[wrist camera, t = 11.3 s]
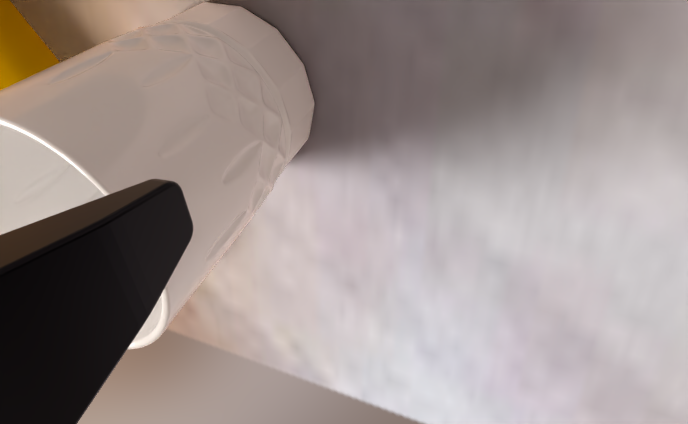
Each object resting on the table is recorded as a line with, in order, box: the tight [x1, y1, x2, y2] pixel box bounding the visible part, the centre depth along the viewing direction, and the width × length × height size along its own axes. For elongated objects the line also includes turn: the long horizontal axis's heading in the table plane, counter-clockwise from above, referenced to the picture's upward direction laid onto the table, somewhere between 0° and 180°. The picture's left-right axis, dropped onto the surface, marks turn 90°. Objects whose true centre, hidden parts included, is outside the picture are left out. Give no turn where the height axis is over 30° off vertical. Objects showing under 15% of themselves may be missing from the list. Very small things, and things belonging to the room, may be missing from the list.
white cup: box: [0, 2, 315, 349], centre depth 20 cm, size 8×8×10 cm
